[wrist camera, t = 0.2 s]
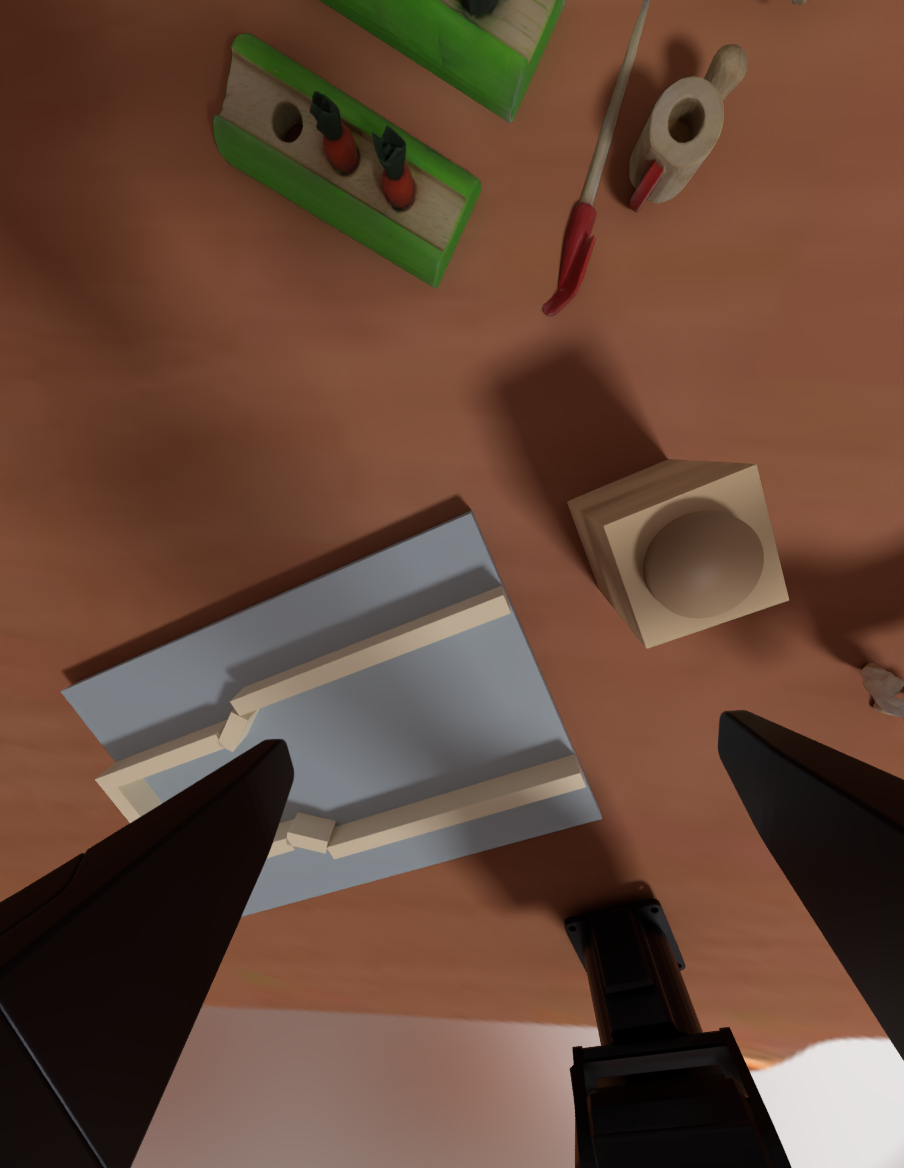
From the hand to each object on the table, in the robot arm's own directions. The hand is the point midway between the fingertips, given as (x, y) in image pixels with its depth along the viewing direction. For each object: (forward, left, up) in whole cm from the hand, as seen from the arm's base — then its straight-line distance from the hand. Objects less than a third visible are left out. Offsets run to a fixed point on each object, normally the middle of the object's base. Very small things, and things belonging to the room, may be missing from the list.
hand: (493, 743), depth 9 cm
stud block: (-1, -7, -14) cm, 16 cm away
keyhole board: (-7, +13, -14) cm, 21 cm away
